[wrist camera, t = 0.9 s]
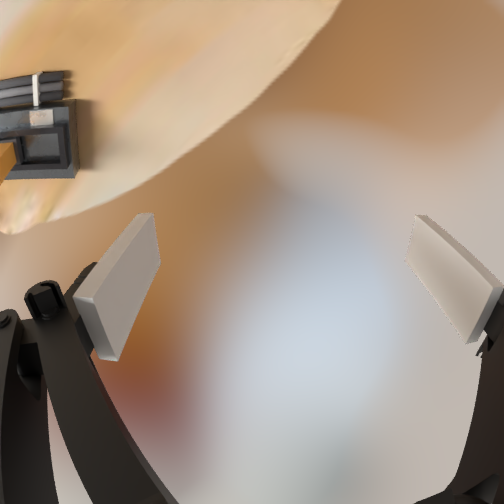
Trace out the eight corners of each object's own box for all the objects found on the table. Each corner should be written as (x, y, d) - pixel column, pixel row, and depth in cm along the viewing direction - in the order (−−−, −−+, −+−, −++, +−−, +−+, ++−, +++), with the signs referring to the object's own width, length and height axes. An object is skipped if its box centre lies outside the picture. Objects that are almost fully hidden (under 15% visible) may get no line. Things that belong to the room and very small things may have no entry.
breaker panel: (-18, 171, 34) (-29, 185, 31) (-31, 113, 25) (-44, 125, 22) (79, 167, 40) (72, 182, 37) (75, 99, 31) (65, 110, 29)
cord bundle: (-24, 111, 26) (-29, 116, 24) (-27, 85, 22) (-33, 89, 21) (63, 99, 31) (59, 103, 30) (63, 68, 27) (58, 72, 26)
